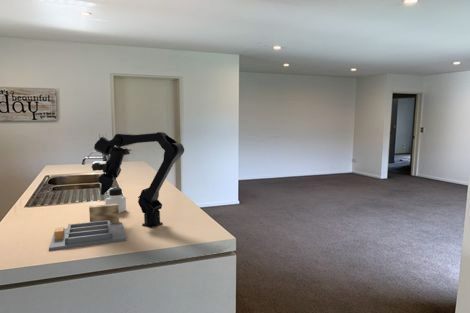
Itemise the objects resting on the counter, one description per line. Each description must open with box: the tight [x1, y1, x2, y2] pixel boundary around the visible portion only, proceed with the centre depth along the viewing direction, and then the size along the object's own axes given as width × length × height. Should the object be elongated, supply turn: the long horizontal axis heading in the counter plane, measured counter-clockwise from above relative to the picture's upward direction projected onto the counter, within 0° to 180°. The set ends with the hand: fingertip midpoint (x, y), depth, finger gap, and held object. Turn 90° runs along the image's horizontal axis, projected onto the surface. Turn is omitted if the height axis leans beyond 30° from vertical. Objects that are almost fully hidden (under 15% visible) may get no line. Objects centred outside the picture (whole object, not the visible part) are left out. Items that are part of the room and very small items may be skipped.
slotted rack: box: [48, 220, 127, 251], centre depth 133 cm, size 26×22×4 cm
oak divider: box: [88, 204, 120, 224], centre depth 151 cm, size 12×3×8 cm, turn 113°
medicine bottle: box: [104, 187, 127, 214], centre depth 169 cm, size 7×7×12 cm
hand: (104, 191), depth 152 cm, fingers open, 9 cm apart
